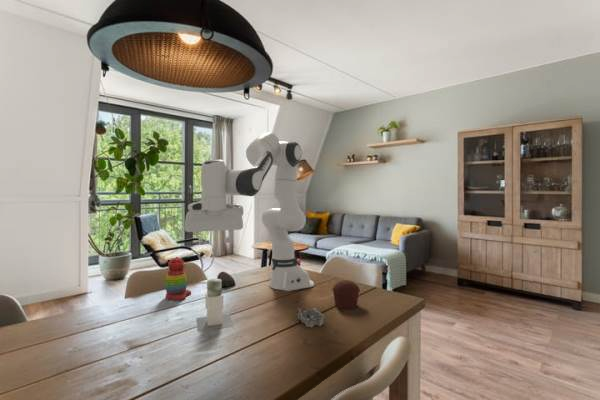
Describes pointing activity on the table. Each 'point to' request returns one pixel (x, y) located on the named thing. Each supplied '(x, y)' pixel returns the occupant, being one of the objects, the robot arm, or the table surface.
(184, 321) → the table surface
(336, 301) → the muffin
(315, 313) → the grey jagged lump
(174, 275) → the stacking bear
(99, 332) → the table surface
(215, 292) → the drum
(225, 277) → the stone
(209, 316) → the tower bottom
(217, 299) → the tower top
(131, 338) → the table surface
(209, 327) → the coaster
